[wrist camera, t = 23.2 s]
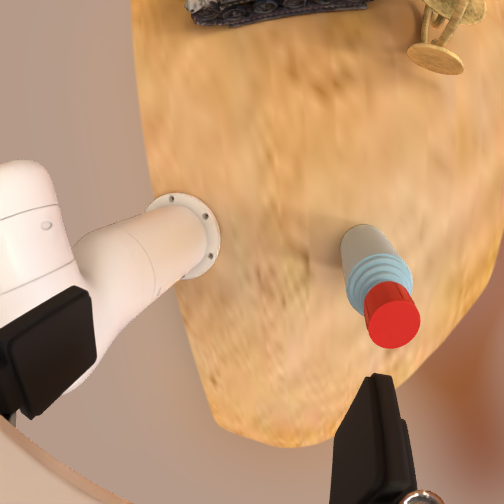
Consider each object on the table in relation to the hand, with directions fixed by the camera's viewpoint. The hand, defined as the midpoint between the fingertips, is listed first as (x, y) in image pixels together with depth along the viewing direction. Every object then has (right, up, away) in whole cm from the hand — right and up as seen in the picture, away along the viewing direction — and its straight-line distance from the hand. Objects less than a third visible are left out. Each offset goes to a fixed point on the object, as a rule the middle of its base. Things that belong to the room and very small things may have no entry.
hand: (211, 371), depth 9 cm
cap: (+12, 0, +14) cm, 19 cm away
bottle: (+16, +4, +30) cm, 34 cm away
